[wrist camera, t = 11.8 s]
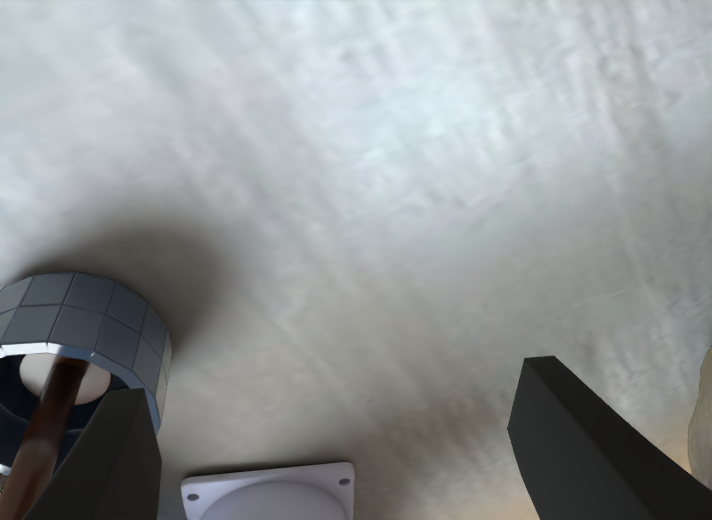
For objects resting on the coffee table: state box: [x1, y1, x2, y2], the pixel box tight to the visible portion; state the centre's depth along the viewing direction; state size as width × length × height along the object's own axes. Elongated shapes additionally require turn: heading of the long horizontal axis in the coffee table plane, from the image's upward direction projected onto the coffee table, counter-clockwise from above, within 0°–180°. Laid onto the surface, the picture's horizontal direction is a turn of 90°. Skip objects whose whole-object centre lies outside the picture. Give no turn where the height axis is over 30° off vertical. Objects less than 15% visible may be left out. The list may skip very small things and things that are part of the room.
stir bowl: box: [0, 272, 172, 480], centre depth 21 cm, size 7×7×4 cm
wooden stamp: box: [0, 353, 113, 520], centre depth 19 cm, size 3×3×8 cm
